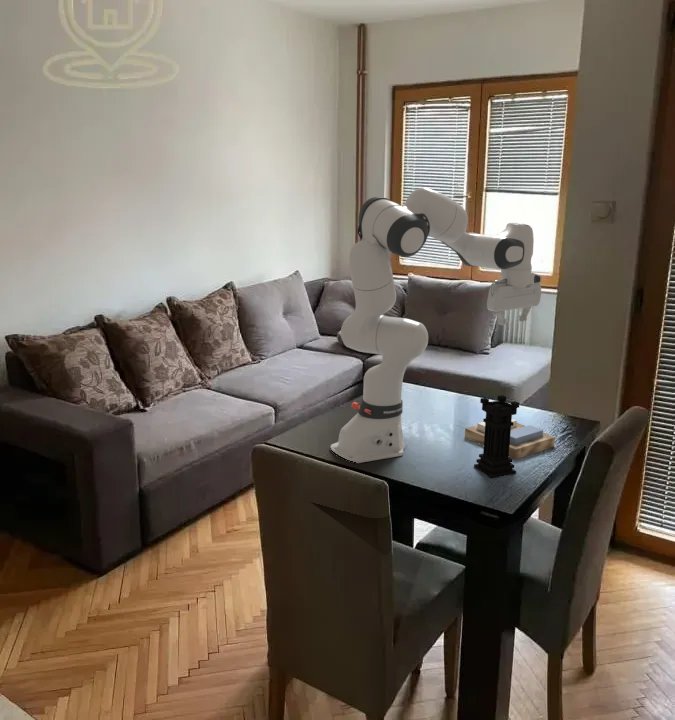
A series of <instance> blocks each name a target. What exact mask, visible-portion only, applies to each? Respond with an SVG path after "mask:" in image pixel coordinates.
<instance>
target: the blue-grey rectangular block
mask: <svg viewBox="0 0 675 720" xmlns="http://www.w3.org/2000/svg"><path fill="white" fill-rule="evenodd" d="M524 426H525V427H522V428H518V429H515V430H511V433H510V443H511V444H513V445H518V444H521V443H524V442H527V441H531V440H534V439H537V438H540V437H543V433H544V429H541V428H538V427H536V426H534V425H524Z"/></svg>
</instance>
